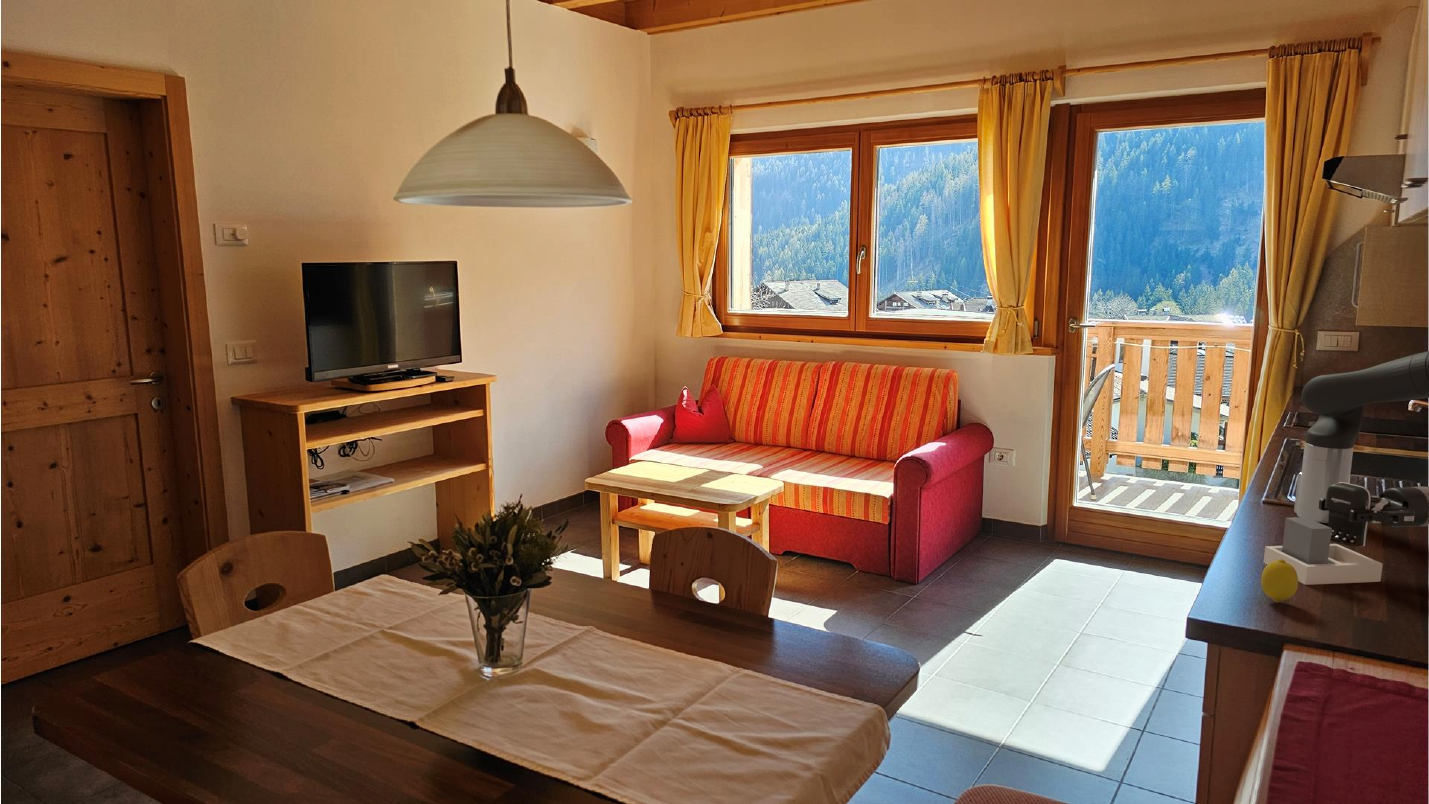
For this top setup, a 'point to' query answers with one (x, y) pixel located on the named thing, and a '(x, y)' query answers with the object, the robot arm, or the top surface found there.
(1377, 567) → the dock
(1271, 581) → the lemon
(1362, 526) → the battery charger
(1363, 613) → the top surface
